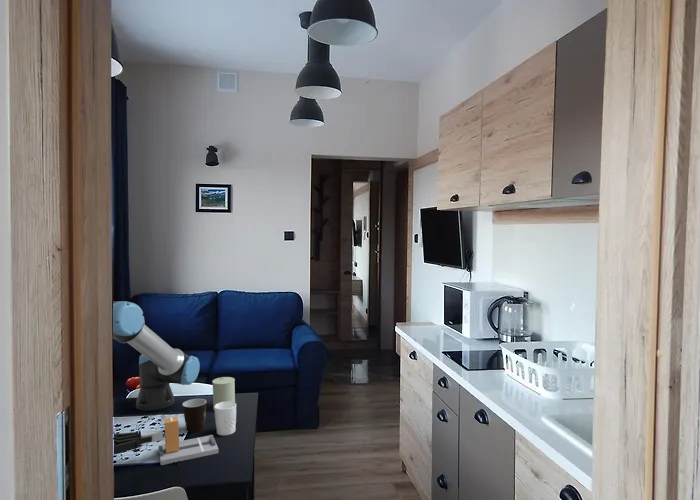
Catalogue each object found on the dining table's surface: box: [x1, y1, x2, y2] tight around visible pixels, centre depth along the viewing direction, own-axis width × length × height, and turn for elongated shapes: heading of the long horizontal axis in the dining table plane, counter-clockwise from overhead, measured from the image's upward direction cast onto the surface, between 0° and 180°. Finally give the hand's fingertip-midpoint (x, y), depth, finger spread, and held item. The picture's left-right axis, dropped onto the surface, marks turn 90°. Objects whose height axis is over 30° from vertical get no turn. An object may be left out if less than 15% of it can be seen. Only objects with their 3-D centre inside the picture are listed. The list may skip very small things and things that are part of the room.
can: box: [211, 376, 236, 411], centre depth 200 cm, size 9×9×12 cm
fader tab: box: [164, 416, 180, 453], centre depth 158 cm, size 4×4×10 cm
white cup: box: [213, 401, 237, 436], centre depth 175 cm, size 8×8×10 cm
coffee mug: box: [182, 398, 208, 433], centre depth 180 cm, size 12×9×10 cm
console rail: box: [157, 434, 219, 466], centre depth 160 cm, size 12×18×2 cm, turn 115°
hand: (162, 435), depth 156 cm, fingers closed
